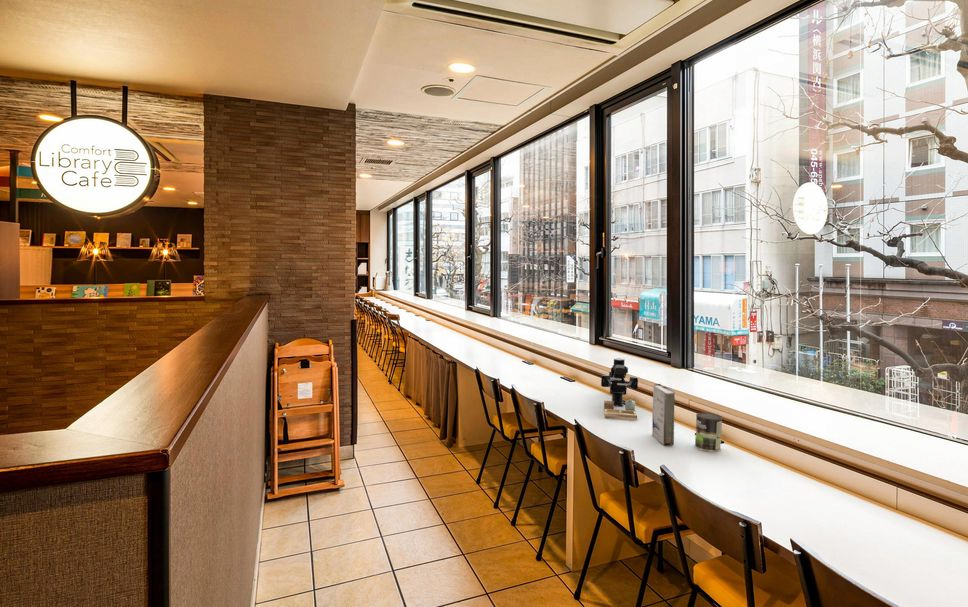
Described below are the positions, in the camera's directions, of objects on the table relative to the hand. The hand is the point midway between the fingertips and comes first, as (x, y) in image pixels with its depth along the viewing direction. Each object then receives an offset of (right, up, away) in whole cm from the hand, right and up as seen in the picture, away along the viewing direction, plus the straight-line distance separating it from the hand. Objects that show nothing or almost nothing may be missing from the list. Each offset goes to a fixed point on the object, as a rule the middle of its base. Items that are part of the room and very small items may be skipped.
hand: (620, 385), depth 263 cm
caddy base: (+1, -16, +2) cm, 16 cm away
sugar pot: (+8, -16, +10) cm, 21 cm away
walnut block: (-3, -16, +13) cm, 20 cm away
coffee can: (+26, -20, -43) cm, 54 cm away
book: (+10, -19, -33) cm, 40 cm away
